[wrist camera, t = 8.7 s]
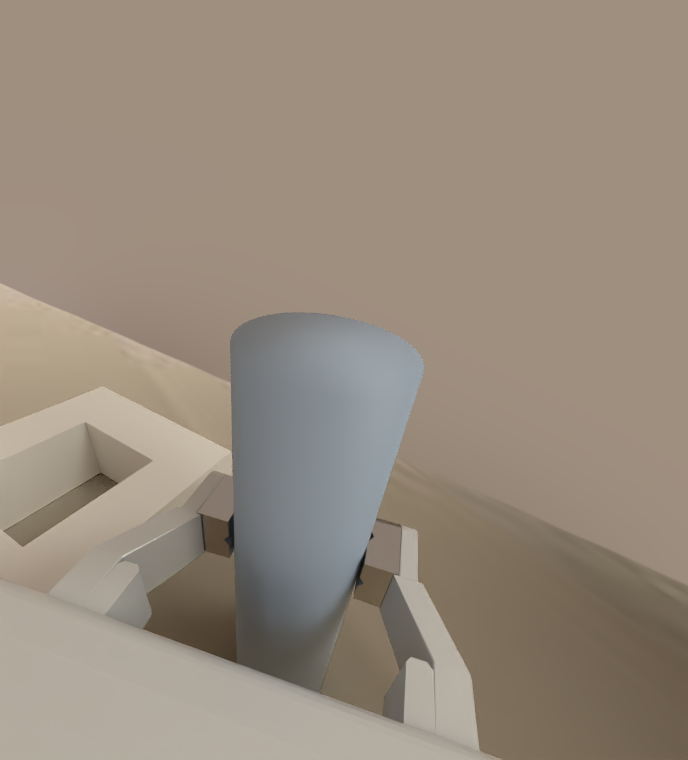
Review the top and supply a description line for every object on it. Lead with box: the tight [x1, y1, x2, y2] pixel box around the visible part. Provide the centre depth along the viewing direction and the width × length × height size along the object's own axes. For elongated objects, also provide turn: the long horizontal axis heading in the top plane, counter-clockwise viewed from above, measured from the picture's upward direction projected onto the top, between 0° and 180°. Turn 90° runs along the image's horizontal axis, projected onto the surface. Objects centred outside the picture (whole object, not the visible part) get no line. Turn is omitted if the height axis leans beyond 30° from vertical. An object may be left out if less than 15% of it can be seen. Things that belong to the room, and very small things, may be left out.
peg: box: [230, 313, 424, 693], centre depth 11 cm, size 4×4×16 cm
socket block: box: [0, 386, 232, 594], centre depth 18 cm, size 12×12×4 cm
